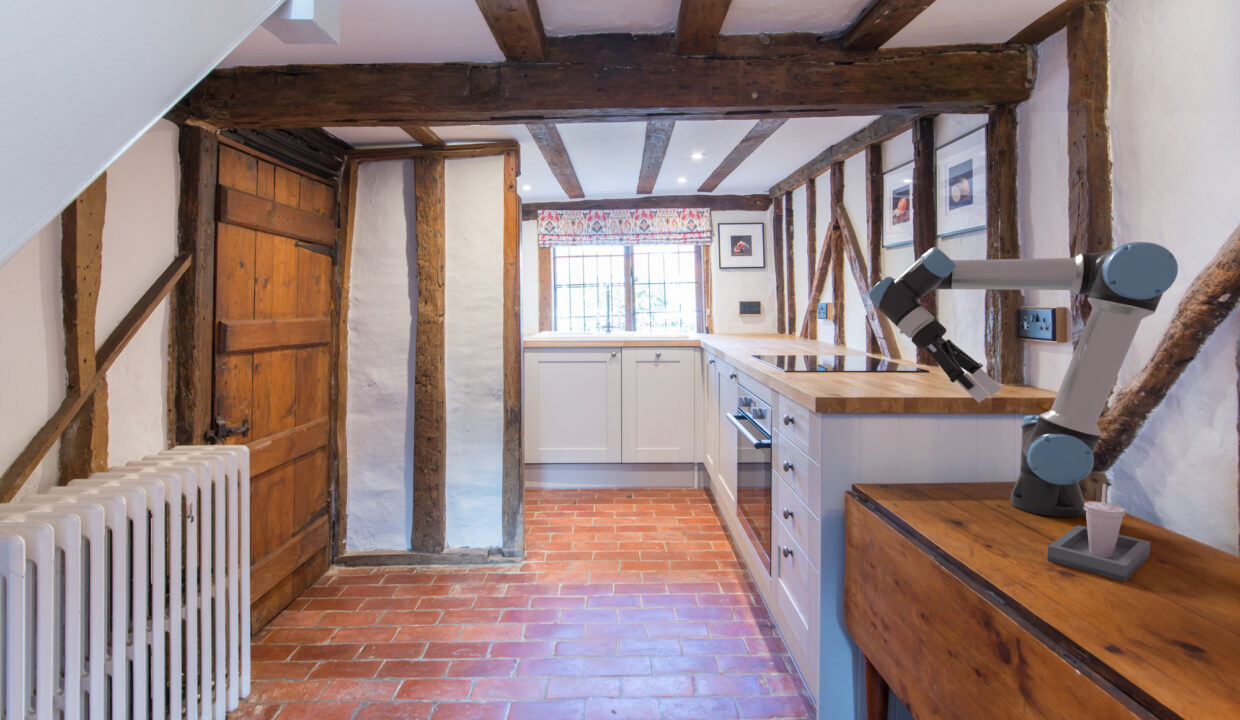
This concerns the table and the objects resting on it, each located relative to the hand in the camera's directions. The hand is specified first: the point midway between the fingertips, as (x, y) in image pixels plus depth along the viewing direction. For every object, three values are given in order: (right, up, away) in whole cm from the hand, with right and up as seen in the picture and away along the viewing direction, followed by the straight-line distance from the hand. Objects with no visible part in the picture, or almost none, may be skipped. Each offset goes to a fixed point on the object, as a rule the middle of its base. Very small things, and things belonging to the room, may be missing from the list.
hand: (990, 395), depth 137 cm
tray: (+10, -31, -19) cm, 38 cm away
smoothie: (+10, -30, -19) cm, 37 cm away
